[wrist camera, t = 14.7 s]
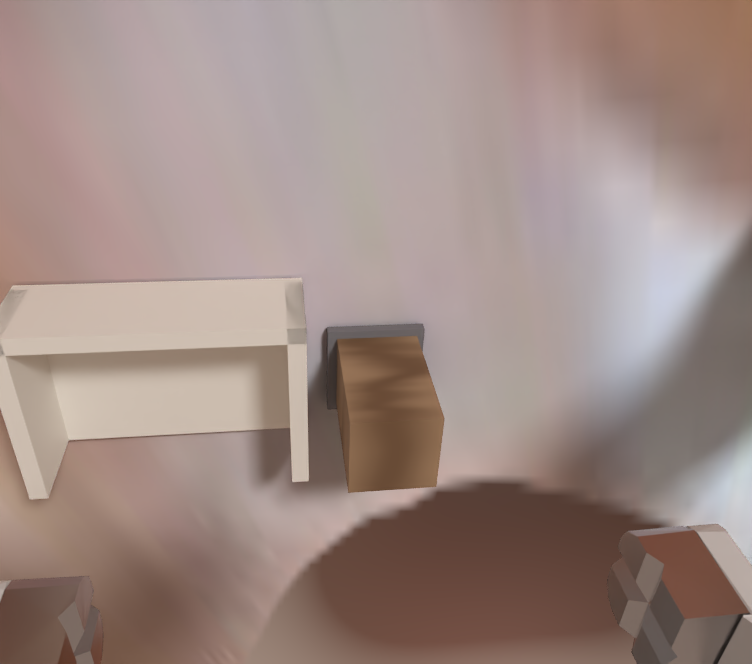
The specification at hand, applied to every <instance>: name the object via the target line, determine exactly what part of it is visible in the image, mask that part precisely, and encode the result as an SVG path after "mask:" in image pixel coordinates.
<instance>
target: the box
mask: <svg viewBox="0 0 752 664" xmlns="http://www.w3.org/2000/svg"><path fill="white" fill-rule="evenodd" d="M0 409H1V412H2V415H3V418H4V421H5V424H6V427H7V430H8V433H9V436H10V439H11V443H12V446H13V449H14V452H15V455H16V458H17V461H18V464H19V467H20V470H21V473H22V476H23V479H24V483H25V486H26V489H27V492H28V495H29V498H30V499H44V498H49V495H50V492H51V489H52V486H53V484H54V481H55V478H56V475H57V472H58V469H59V467H60V464H61V461H62V458H63V455H64V453H65V450H66V447H67V444H68V441H69V440H81V439H99V438H117V437H135V436H153V435H171V434H189V433H207V432H225V431H244V430H262V429H280V428H290V442H291V465H292V482H303V481H309V462H308V402H307V341H306V319H305V308H304V297H303V285H302V278H278V279H240V280H203V281H166V282H128V283H91V284H54V285H16V286H12V287H11V289H10V291H9V292H8V294H7V295H6V297H5V298H4V300H3V302H2V303H1V305H0Z"/></svg>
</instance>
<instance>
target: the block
mask: <svg viewBox="0 0 752 664" xmlns="http://www.w3.org/2000/svg"><path fill="white" fill-rule="evenodd" d="M336 404H337V412H338V419H339V426H340V434H341V441H342V449H343V456H344V464H345V471H346V479H347V486H348V493H351V492H365V491H380V490H394V489H409V488H424V487H436V484H437V476H438V468H439V459H440V451H441V443H442V435H443V426H444V416H443V413H442V410H441V407H440V404H439V400H438V397H437V394H436V391H435V388H434V385H433V382H432V379H431V376H430V373H429V370H428V367H427V364H426V361H425V358H424V355H423V352H422V349H421V346H420V343H419V340H418V337H417V336H401V337H375V338H350V339H337V390H336Z"/></svg>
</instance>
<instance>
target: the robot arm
mask: <svg viewBox="0 0 752 664" xmlns="http://www.w3.org/2000/svg"><path fill="white" fill-rule="evenodd" d="M618 549H619V551H620V553H621V554H622V557H621V558H620V559H619V560H618V561H616V562H615V563H614V564H613V565H612V566H611V569H610V572H609V576H608V579H607V584H608V598H609V601H610V605H611V608H612V612H613V614H614V616H615V618H616V620H617V623H618V625H619V626H620V627H621V628H623V629H624V630H625V631H626V632H628V633H629V634H630V635H632V636H633V637H634V642H633V648H632V654H633V656H634V658H635V660H636V662H637V664H752V566H751V564H750V563H749V561H748V560H747V559H746V557H745V556H744V554H743V553H742V552H741V550H740V549H739V548H738V546H737V545H736V543H735V542H734V541H733V539H732V538H731V536H730V535H729V534H728V532H727V531H726V530H725V529H724V528H723V527H721V526H720V525H718V524H709V525H697V526H687V527H684V526H677V527H667V528H656V529H646V530H635V531H627V532H626V533H625V534H624V535H623V536H622V537H621V539H620V542H619V545H618ZM93 592H94V590H93V587H92V584H91V581H90V578H89V576H79V577H60V578H42V579H24V580H7V581H0V664H101V660H102V651H103V625H102V619H101V615H100V611H99V610H98V609H96V608H95V607H93V606H92V605H91V601H92V597H93Z"/></svg>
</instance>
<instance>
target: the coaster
mask: <svg viewBox="0 0 752 664" xmlns="http://www.w3.org/2000/svg"><path fill="white" fill-rule="evenodd" d="M401 336H417V337H418V340H419V343H420V346H421V349H422V351H423V340H424V326H423V324H404V325H377V326H349V327H327V408H328V409H337V404H336V390H337V339H350V338H375V337H401Z"/></svg>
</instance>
